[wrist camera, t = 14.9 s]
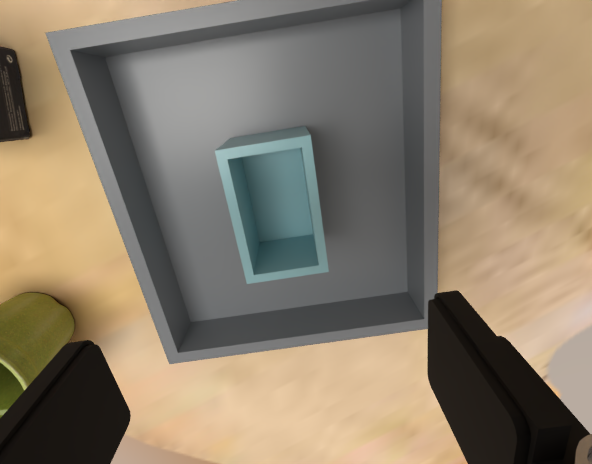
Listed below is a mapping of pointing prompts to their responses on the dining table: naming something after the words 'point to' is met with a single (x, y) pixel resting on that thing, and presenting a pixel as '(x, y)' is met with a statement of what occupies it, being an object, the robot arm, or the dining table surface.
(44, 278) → the dining table surface
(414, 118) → the tray
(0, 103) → the small box
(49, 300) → the plant pot
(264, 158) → the teal crate
